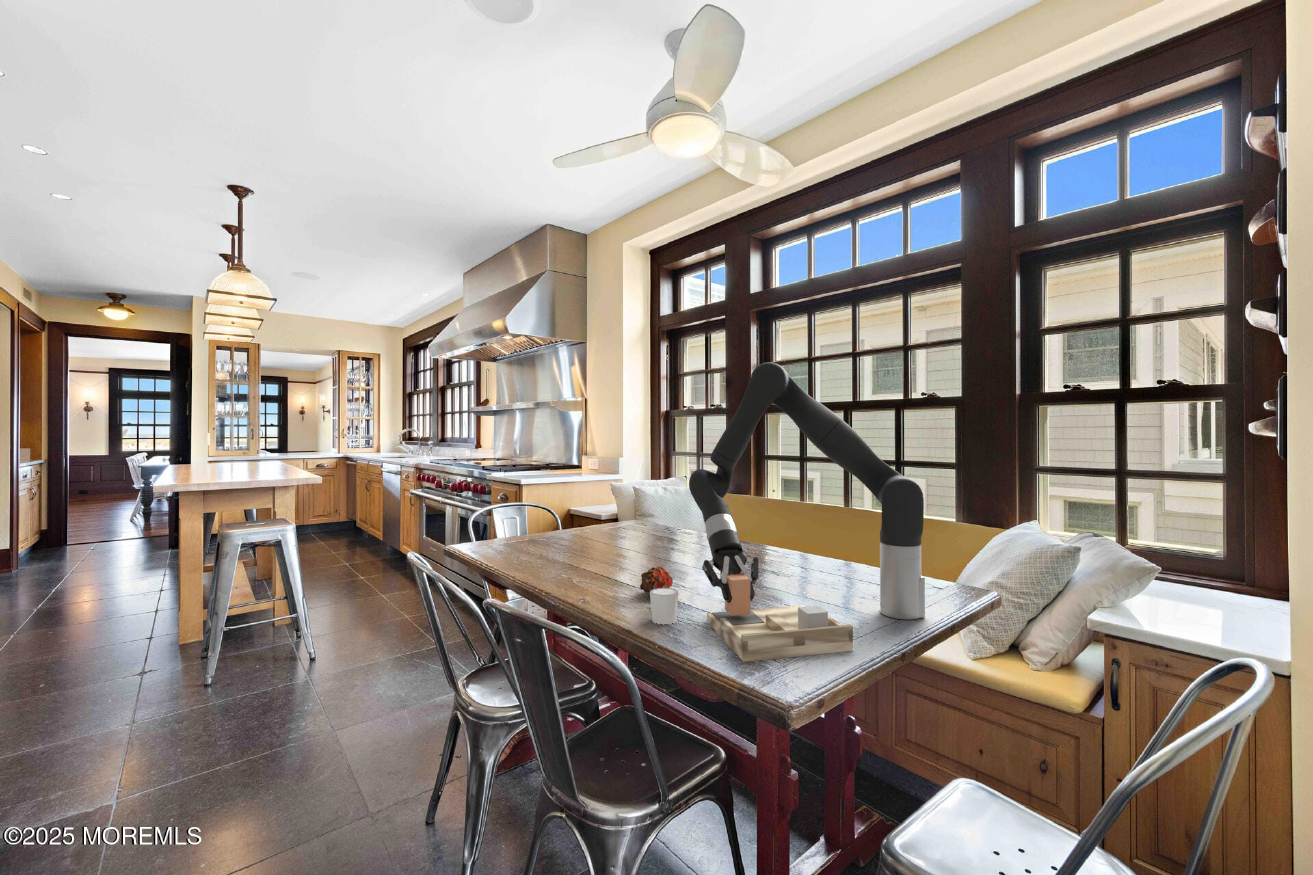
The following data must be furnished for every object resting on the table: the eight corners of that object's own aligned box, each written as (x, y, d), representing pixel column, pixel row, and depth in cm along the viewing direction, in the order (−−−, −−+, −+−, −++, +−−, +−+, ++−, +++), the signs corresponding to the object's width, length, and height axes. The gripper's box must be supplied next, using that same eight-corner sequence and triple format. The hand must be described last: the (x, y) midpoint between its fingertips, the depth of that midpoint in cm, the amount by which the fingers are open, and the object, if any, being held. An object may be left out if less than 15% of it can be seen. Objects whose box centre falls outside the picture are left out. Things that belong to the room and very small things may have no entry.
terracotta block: (724, 609, 133) (724, 575, 133) (743, 608, 134) (743, 573, 134) (731, 615, 129) (731, 580, 129) (750, 614, 130) (750, 578, 130)
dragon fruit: (649, 608, 151) (657, 601, 163) (675, 589, 150) (681, 584, 162) (631, 580, 153) (640, 576, 165) (656, 562, 152) (664, 558, 164)
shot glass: (658, 627, 132) (658, 597, 132) (645, 618, 138) (644, 589, 138) (684, 622, 135) (684, 592, 135) (670, 614, 141) (669, 585, 141)
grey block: (798, 630, 123) (798, 607, 123) (817, 628, 124) (817, 605, 124) (807, 637, 119) (807, 613, 119) (827, 635, 120) (827, 612, 120)
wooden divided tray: (707, 621, 136) (706, 600, 136) (799, 613, 140) (799, 593, 140) (743, 661, 112) (743, 636, 112) (852, 650, 117) (852, 626, 117)
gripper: (697, 529, 137) (713, 594, 126) (754, 526, 140) (775, 589, 129) (691, 547, 143) (706, 610, 131) (746, 544, 145) (765, 606, 134)
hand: (740, 599), depth 130 cm, fingers closed on terracotta block, 4 cm apart
